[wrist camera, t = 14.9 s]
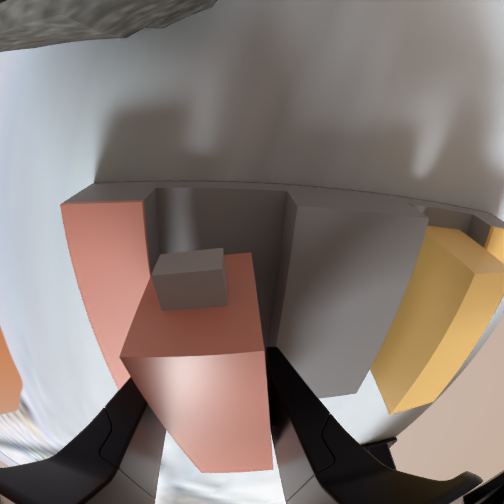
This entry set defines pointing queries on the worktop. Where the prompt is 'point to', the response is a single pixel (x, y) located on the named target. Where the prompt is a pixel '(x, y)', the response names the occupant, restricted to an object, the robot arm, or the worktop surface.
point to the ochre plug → (437, 318)
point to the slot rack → (266, 261)
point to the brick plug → (204, 359)
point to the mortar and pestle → (85, 19)
